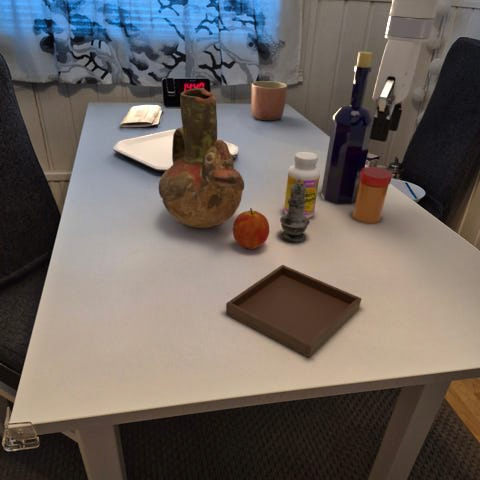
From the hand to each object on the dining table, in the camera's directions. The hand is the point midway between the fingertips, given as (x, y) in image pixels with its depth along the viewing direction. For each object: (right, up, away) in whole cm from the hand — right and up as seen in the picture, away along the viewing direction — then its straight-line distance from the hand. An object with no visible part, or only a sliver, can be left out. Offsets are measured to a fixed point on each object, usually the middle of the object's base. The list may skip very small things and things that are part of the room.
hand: (383, 134), depth 88 cm
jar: (0, -14, +11) cm, 18 cm away
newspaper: (-62, +33, +67) cm, 97 cm away
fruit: (-27, -23, -1) cm, 35 cm away
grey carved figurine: (-18, -20, +2) cm, 27 cm away
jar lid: (0, -6, +5) cm, 8 cm away
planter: (-19, +37, +74) cm, 85 cm away
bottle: (-4, -7, +19) cm, 21 cm away
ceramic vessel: (-36, -17, +5) cm, 40 cm away
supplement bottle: (-15, -13, +11) cm, 23 cm away
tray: (-20, -35, -18) cm, 44 cm away
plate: (-46, +10, +39) cm, 61 cm away
